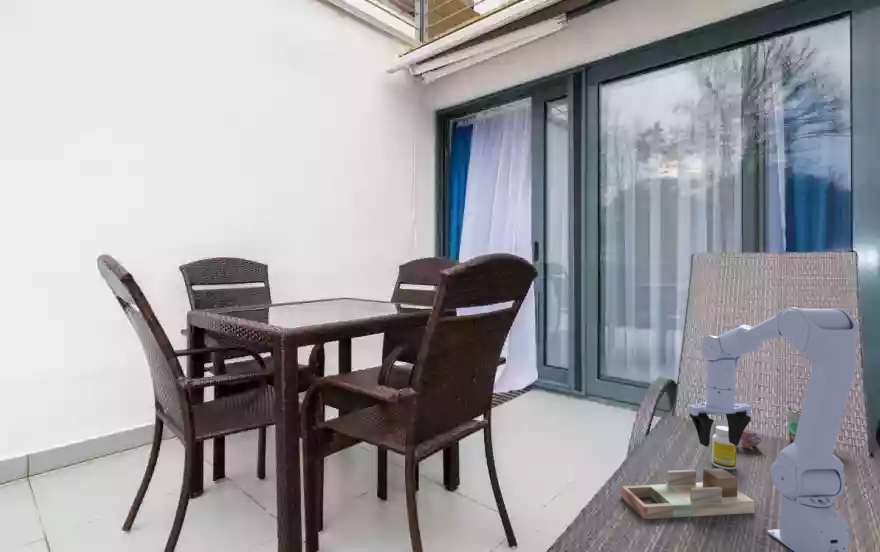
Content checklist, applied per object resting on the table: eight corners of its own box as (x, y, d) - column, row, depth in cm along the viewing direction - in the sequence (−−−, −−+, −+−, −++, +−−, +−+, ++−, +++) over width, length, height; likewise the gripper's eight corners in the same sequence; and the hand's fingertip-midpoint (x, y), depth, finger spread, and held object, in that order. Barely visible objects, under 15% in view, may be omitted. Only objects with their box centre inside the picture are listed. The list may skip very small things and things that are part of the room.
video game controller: (720, 450, 129) (724, 433, 126) (716, 438, 133) (720, 421, 130) (759, 455, 126) (765, 437, 123) (754, 442, 130) (759, 425, 127)
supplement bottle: (739, 471, 113) (741, 432, 112) (716, 469, 114) (717, 431, 113) (730, 462, 118) (731, 425, 118) (707, 460, 119) (709, 423, 119)
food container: (774, 441, 133) (775, 407, 133) (786, 438, 136) (787, 405, 135) (824, 457, 122) (825, 421, 122) (836, 453, 124) (837, 418, 124)
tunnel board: (754, 512, 93) (754, 486, 93) (643, 519, 90) (644, 492, 90) (723, 492, 102) (724, 468, 102) (621, 497, 99) (622, 472, 99)
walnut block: (737, 496, 95) (737, 478, 95) (717, 497, 94) (718, 478, 94) (721, 486, 100) (721, 468, 99) (702, 487, 99) (703, 469, 99)
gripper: (735, 382, 110) (733, 436, 110) (680, 383, 108) (679, 438, 108) (759, 389, 103) (757, 448, 103) (701, 391, 101) (699, 450, 101)
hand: (719, 444), depth 105 cm, fingers open, 7 cm apart
